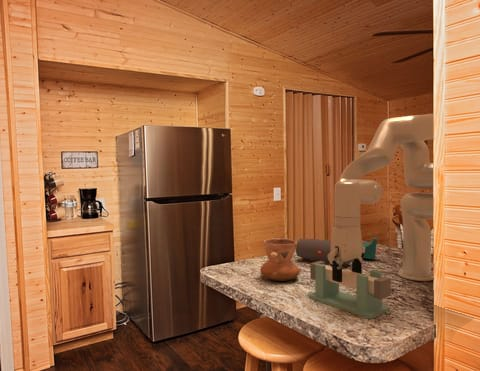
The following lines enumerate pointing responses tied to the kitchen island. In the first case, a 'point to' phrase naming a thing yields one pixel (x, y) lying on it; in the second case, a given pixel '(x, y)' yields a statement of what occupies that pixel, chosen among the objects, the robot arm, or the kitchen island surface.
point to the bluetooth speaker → (315, 250)
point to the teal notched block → (370, 249)
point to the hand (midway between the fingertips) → (347, 278)
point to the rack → (348, 295)
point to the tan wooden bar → (349, 278)
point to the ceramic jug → (279, 260)
